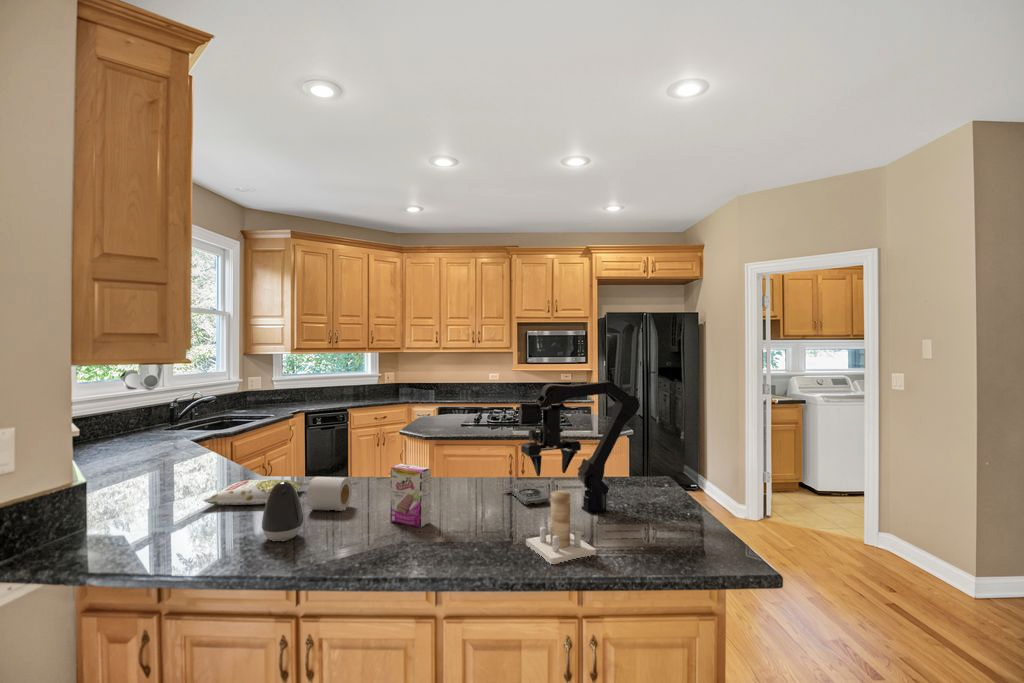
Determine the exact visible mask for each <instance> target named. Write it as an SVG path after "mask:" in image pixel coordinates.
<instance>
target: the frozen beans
mask: <svg viewBox="0 0 1024 683" xmlns="http://www.w3.org/2000/svg"><path fill="white" fill-rule="evenodd" d="M283 481H285V482H289V483H291V484H292V485H293V486H294V488H295V490H296V491H297V490H299V489H300V488H301V487H302V486H304V485H305V483H302V482H298V481H295V480H290V479H251V480H249V479H247V480H241V481H237V482H235V483H233V484H230V485H229V486H227V487H225V488H223V489H221V490H220V491H219V492H216V493H214V494H212V495H210V496H209V497H206V498H205V499H202V501H204V502H205V503H207V504H209V505H210V504H211V505H222V506H227V505H231V506H232V505H233V506H234V505H235V506H236V505H237V506H239V505H240V506H241V505H245V506H246V505H250V506H251V505H266V502H267V499H268V496H269V494H270V492H271V490H272V488H273V487H274V486H275V485H276V484H277V483H279V482H283Z"/></svg>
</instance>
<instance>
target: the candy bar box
mask: <svg viewBox="0 0 1024 683" xmlns="http://www.w3.org/2000/svg"><path fill="white" fill-rule="evenodd" d="M389 518H390V520H389V521H390V522H392V523H395V524H396V523H397V524H400V525H404V526H405V525H407V526H411V527H415V528H416V527H417V528H423V527H425V526H426V524H427V525H428V524H430V523H431V467H426V466H421V465H419V466H418V465H413V464H406V463H398V464H396V465H392V466H391V467H390V516H389ZM424 525H425V526H424Z"/></svg>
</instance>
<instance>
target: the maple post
mask: <svg viewBox="0 0 1024 683" xmlns="http://www.w3.org/2000/svg"><path fill="white" fill-rule="evenodd" d="M570 533H571V493H570V492H569V491H566V490H554V491H551V493H550V534H551V545H552V546H553V536H559V548H566V547H568V546H570Z"/></svg>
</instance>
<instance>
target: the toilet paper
mask: <svg viewBox="0 0 1024 683" xmlns="http://www.w3.org/2000/svg"><path fill="white" fill-rule="evenodd" d="M306 491H307V492H306V504H307V507H308V509H310V510H311V509H313V510H315V511H330V510H335V512H343V511H342V510H344V509H345V508H346V507H347V508H348V507H349V506H350V502H351V500H352V499H351V498H352V492H353V487H352V481H351V479H350V478H348V477H337V476H336V477H334V476H333V477H332V476H315V477H313V478H312V479H311V480H310V482H309V485H308V488H307V490H306ZM313 510H312V511H313ZM344 511H345V510H344Z"/></svg>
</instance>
